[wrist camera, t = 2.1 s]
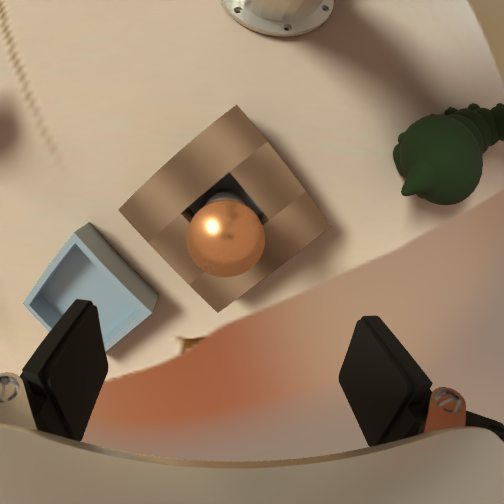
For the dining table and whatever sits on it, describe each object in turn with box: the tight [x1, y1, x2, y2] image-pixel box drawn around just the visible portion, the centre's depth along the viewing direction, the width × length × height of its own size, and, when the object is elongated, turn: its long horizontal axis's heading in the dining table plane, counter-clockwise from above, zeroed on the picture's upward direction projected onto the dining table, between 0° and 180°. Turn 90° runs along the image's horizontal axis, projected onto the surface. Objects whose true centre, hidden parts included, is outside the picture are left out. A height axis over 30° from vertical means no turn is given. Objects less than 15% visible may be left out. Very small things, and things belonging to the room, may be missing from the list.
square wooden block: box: [119, 105, 331, 313], centre depth 28 cm, size 14×14×5 cm
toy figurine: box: [393, 103, 504, 205], centre depth 22 cm, size 9×19×25 cm
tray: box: [23, 222, 159, 352], centre depth 31 cm, size 14×12×4 cm
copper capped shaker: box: [186, 188, 265, 277], centre depth 25 cm, size 5×5×11 cm
